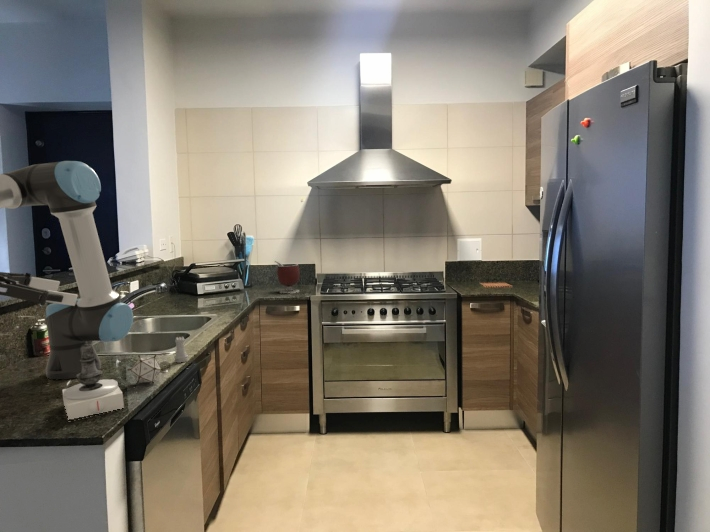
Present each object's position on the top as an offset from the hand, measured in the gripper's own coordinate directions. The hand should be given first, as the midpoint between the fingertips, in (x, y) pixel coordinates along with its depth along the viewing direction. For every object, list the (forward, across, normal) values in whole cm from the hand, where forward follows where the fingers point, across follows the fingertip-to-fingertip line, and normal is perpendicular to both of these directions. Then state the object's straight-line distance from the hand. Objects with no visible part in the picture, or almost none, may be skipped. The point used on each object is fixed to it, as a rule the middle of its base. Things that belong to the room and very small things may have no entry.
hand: (66, 293), depth 123 cm
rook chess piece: (+44, -9, -19) cm, 48 cm away
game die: (+27, +3, -22) cm, 35 cm away
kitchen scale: (+10, +10, -26) cm, 30 cm away
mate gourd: (+159, -97, +2) cm, 187 cm away
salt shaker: (+9, +9, -21) cm, 25 cm away
